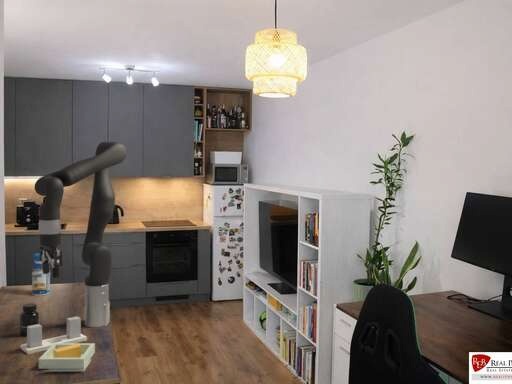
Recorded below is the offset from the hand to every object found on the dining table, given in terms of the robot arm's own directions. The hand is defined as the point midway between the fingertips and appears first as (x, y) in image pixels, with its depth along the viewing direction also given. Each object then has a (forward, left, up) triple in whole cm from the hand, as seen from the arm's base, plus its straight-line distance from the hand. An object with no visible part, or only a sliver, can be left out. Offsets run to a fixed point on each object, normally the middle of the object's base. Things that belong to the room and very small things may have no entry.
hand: (50, 275), depth 184 cm
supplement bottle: (+10, -6, -25) cm, 27 cm away
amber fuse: (-9, +23, -22) cm, 33 cm away
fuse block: (-3, +6, -25) cm, 25 cm away
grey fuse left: (+2, +10, -24) cm, 26 cm away
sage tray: (-12, +20, -25) cm, 34 cm away
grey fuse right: (-9, +1, -24) cm, 25 cm away
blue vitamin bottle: (+27, -67, -25) cm, 76 cm away
